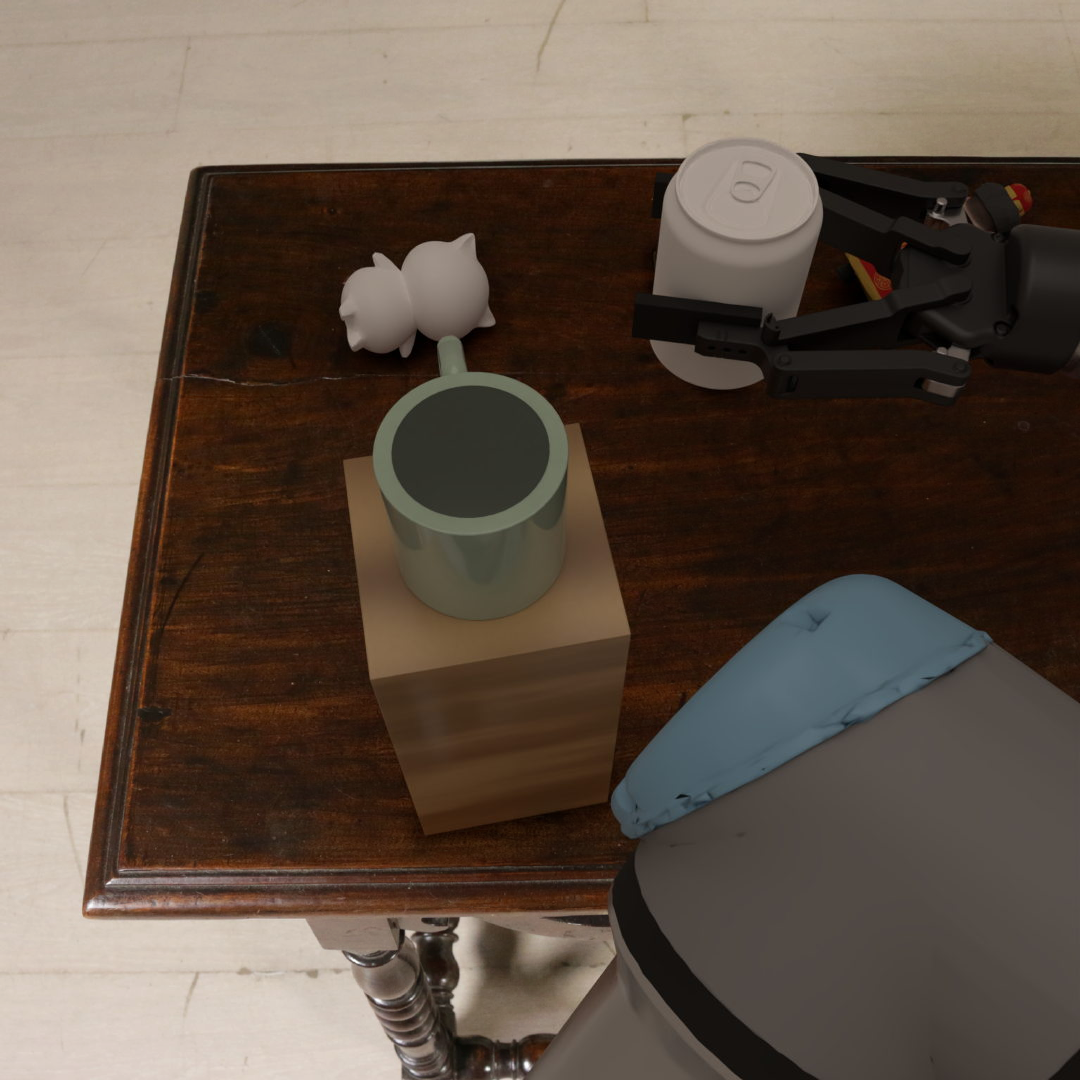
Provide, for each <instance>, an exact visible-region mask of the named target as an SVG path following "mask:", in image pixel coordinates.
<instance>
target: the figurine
mask: <svg viewBox="0 0 1080 1080" xmlns="http://www.w3.org/2000/svg"><path fill="white" fill-rule="evenodd" d="M972 194H973V195H972V196H969V195H968V196H967V198H966V201H965V203H964V210H965V214H966V218H967V222H968V223H969V224H972V225H975V226H977V227H979V228H980V229H983V230H985V231H988V232H991V233H1002V232H1005V231H1008V230H1010V229H1012V228H1014V227H1016V226H1018V225H1020V224H1021V217H1022V216H1024V215H1025V214H1026V213H1027V212H1029V211H1030V210H1031V208H1032V207H1033V206H1032V205H1033V198H1032V195H1031V191H1030V190H1029V189H1028V188H1027V186H1025V185H1024V184H1023V183H1012V184H1010V185H1006V186H1005V187H1004V186H1003V185H1002V184H1000V183H998V182H995V181H994V182H987V181H986V182H985V183H983V184H982V185H980V186H979V187H978V188H976V189H975V190H973V193H972ZM906 245H907V243H905V242H903V243H902V246H901V249H903V248H904V247H905V246H906ZM899 252H900V251H899ZM844 255H845V258H846V259H847V260H848V261H849V263H844V264H841V265H840V266H838V267H836V268H835V271H836V273H837V274H838V277H839V279H840V280H841V283H842V284H843V285H844V286H845V287H849V286H851V285H853V284H854V283H855V282H856V278H857V281H858V283H859V285H860V287H861V289H862V291H863V293H864V295H865V297H866V298H867V301H868V302H869V301H874V300H878V299H882V298H884V297H885V296H886V295H887V294H888V293H890V292H891V291H893V290H892V287H891V280H890V279H887V278H885V277H883V276H881V275H879V274H878V273H877V272H876V270H875V267H874V266H873V265H872V264H870V263H868V262H866V261H864V260H861V259H859V258H857V257H855V256H853V255H850V254H848V253H846V252H844Z"/></svg>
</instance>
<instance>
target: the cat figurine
mask: <svg viewBox="0 0 1080 1080" xmlns="http://www.w3.org/2000/svg"><path fill="white" fill-rule="evenodd" d="M476 249H477V248H476V236H475V234H474V233H473V232H468V233H465V234H463V235H461V236H459V237H458V238H456V239H455V240H452V241H449V242H448V241H447V242H446V241H440V240H431V241H426V242H422V243H420V244H418V245H416V246H415V247H413V248H412V249H411V250H410V251H409V252H408V254H407V255H406V257H405V258H404V261H403V263H402V266H401V269H399V268H398V267H397V265H395V264H394V262H393V261H392V260H391V259H389V258H388V257H387V256H386V255H384V254H383V253H382V252H381V253H380V252H374V253H373V254H372V260H373V265H374V266H366V267H361V268H359V269H357V270H355V271H354V272H353V273H352V274H351V275H349V277H348V278H347V279H346V282H345V284H344V286H343V288H342V292H341V298H340V307H339V308H338V313H339V316H340V319H341V321H342V322H343V321H344V324H345V326H346V337H347V341H348V345H349V348H350V349H351V351H352V352H358V351H359V350H361V349H365V350H367V351H368V352H372V353H375V354H388V353H391V352H393V351H395V350H397V349H399V353H400V355H401V357H402V358H406V359H407V358H408V357H409V356H410V354H411V353H412V350H413V347H414V344H415V340H416V335H417V331H419V332H420V333H421V334H422V335H424V336H425V337H426V338H428V339H431V340H432V341H435V342H439V341H440V339H441V338H443V337H445V336H448V335H452V336H455V337H457V338H458V339H459V340H461V339H463V338H464V337H465V336H467V335H468V334H469V333H470V332H471V331H473V330H475V329H476V328H490V327H493V326H494V325H496V323H497V321H496V318H495V317H494V315H493V313H492V311H491V308H490V306H489V297H490V285H489V279H488V276H487V274H486V271H485V269H484V267H483V266H482V264H481V263H480V262H479V260H478V258H477V250H476Z"/></svg>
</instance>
